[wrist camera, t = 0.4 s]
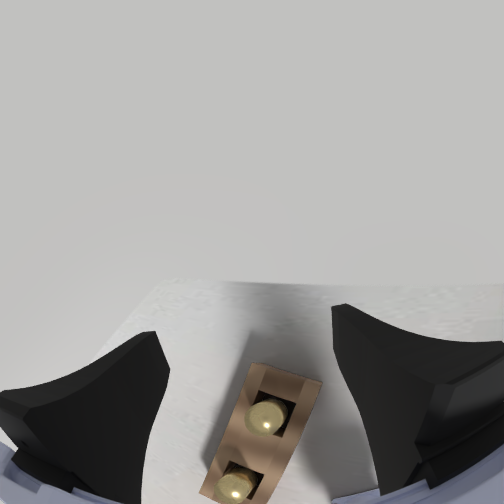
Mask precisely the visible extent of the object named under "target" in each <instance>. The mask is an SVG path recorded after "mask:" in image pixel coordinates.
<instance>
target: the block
mask: <svg viewBox="0 0 504 504" xmlns="http://www.w3.org/2000/svg"><path fill="white" fill-rule="evenodd" d="M321 385H322V382H319V381H316V380H312V379H309V378H306V377H302V376H299V375H296V374H293V373H289V372H286V371H283V370H280V369H277V368H274V367H271V366H268V365H266V364H263V363H252V364H251V366H250V369H249V372H248V374H247V377H246V380H245V382H244V385H243V387H242V390H241V393H240V395H239V398H238V400H237V403H236V405H235V408H234V411H233V413H232V416H231V418H230V421H229V423H228V426H227V428H226V430H225V433H224V435H223V438H222V440H221V443H220V445H219V447H218V450H217V452H216V455H215V457H214V459H213V462H212V464H211V466H210V469H209V471H208V473H207V475H206V478H205V480H204V482H203V485H202V487H201V489H200V491H199V493H200V494H202V495H204V496H206V497H208V498H210V499H212V500H214V501H216V502H218V503H220V504H228V503H225V502H223V501H221V500H220V499H219V498H218V497H217V496H216V495H215V493H214V485H215V483H216V482H218V481H219V480H220V479H221V478H222V477H224V476H225V475H226V474H227V473H228V472H229V471H231V470H232V469H233V468H234V466H235V464H236V463H237V464H239V465H242V466H244V467H247V468H249V469H252V470H254V471H257V472H259V473H262V474H265V475H264V477H263V479H262V481H261V483H260V485H259V486H257V485H255V487H254V488H253V489H252V491H251V492H250V493H249V494H248V496H247V497H246V498H245V499H244V500H243V501H242V502H241V503H238V504H267V502H268V500H269V499H270V497H271V495H272V493H273V491H274V490H275V488H276V486H277V484H278V482H279V480H280V478H281V476H282V474H283V473H284V471H285V469H286V467H287V465H288V462H289V460H290V458H291V456H292V454H293V452H294V450H295V448H296V446H297V443H298V441H299V439H300V437H301V434H302V432H303V430H304V428H305V425H306V423H307V420H308V418H309V416H310V413H311V411H312V408H313V406H314V403H315V401H316V398H317V395H318V393H319V390H320V387H321ZM265 392H266V393H268V394H271V395H274V396H277V397H280V398H283V399H286V400H289V401H292V402H295V403H296V406H295V408H294V411H293V413H292V416H291V418H290V421H289V423H288V425H287V428H283V427H280V428H279V429H278V430H277V431H276V432H275V433H274V434H272V435H270V436H266V437H260V436H256V435H254V434H252V433H251V432H250V431H249V430H248V429H247V428H246V426H245V422H244V417H245V413H246V412H247V410H248V409H249V408H250V407H251V406H253V405H255V404H257V403H260V402H262V400H263V398H264V395H265Z"/></svg>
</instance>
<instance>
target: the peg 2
mask: <svg viewBox="0 0 504 504" xmlns="http://www.w3.org/2000/svg"><path fill="white" fill-rule="evenodd" d="M287 416H288V410H287V407H286V405H285V404H284V403H283V402H282V401H280V400H278V399H274V398H270V399H266V400H264V401H262V402H260V403H257V404H255V405H253V406H251V407H250V408H249V409H248V410H247V412H246V413H245V417H244V422H245V426H246V428H247V429H248V430H249V431H250V432H251V433H252V434H254V435H256V436H260V437H266V436H270V435H272V434H274V433H275V432H276V431H277V430H278V429H279V428H280V426H281V425H282V424H283V423H284V422H285V421H286V419H287Z"/></svg>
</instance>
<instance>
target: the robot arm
mask: <svg viewBox="0 0 504 504" xmlns="http://www.w3.org/2000/svg"><path fill="white" fill-rule="evenodd" d="M331 310H332V328H333V349H334V353H335V356H336V359H337V362H338V366H339V369H340V371H341V373H342V375H343V377H344V379H345V381H346V384H347V386H348V388H349V390H350V392H351V394H352V396H353V398H354V401H355V403H356V405H357V407H358V409H359V412H360V415H361V417H362V420H363V424H364V427H365V430H366V434H367V437H368V441H369V445H370V449H371V452H372V456H373V461H374V465H375V470H376V475H377V480H378V485H379V488H377V489H374V490H370V491H366V492H363V493H358V494H354V495H350V496H345V497H340V498H335V499H333V500H332V504H334V503H337V504H504V402H503V401H504V343H503V342H502V341H490V342H459V341H449V340H442V339H436V338H431V337H426V336H422V335H418V334H415V333H412V332H408V331H405V330H402V329H399V328H397V327H394V326H392V325H390V324H387V323H385V322H383V321H380V320H378V319H376V318H374V317H372V316H370V315H368V314H366V313H364V312H362V311H361V310H359V309H357V308H355V307H353V306H351V305H349V304H341V305H336V306H332V307H331ZM169 373H170V367H169V365H168V362H167V360H166V357H165V355H164V352H163V350H162V347H161V345H160V342H159V339H158V337H157V334H156V331H150V332H142V333H140V334H138V335H136V336H134V337H133V338H131V339H129V340H128V341H126V342H125V343H123V344H122V345H120V346H118V347H117V348H115V349H114V350H112V351H111V352H109V353H108V354H106V355H104V356H103V357H101V358H99V359H98V360H96V361H94V362H93V363H91V364H89V365H88V366H86V367H84V368H82V369H80V370H78V371H76V372H74V373H71V374H69V375H67V376H64V377H61V378H59V379H56V380H53V381H51V382H47V383H44V384H40V385H36V386H32V387H26V388H20V389H12V390H4V391H2V392H0V427H1V428H2V429H3V431H4V432H5V433H6V434H7V436H8V437H9V438H10V439H11V440H12V442H13V443H14V444H15V445H16V446H17V447H18V450H17V451H16V452H14V451H13V450H12V449H11V448H10V447H8V446H6V445H5V444H3V443H2V442H0V500H1V501H2V502H3V503H5V504H141V488H142V476H143V467H144V460H145V454H146V449H147V444H148V439H149V435H150V432H151V429H152V426H153V423H154V420H155V418H156V415H157V412H158V410H159V407H160V404H161V402H162V399H163V396H164V394H165V391H166V388H167V383H168V379H169Z"/></svg>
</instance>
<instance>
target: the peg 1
mask: <svg viewBox="0 0 504 504" xmlns="http://www.w3.org/2000/svg"><path fill="white" fill-rule="evenodd" d="M256 484H257V476H256V474H255V473H254V472H253V471H252V470H251V469H249V468H247V467H235V468H233V469H232V470H231V471H229V472H228V473H227V474H226V475H225V476H224V477H222V478H221V479H220V480H219V481H218V482H216V483H215V485H214V493H215V495H216V496H217V497H218V498H219V499H220V500H221V501H223V502H225V503H228V504H238V503H241V502H242V501H243V500H244V499H245V498H246V497H247V496H248V494H249V493H250V492H251V491H252V489H253V488H254V487H255V485H256Z"/></svg>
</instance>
